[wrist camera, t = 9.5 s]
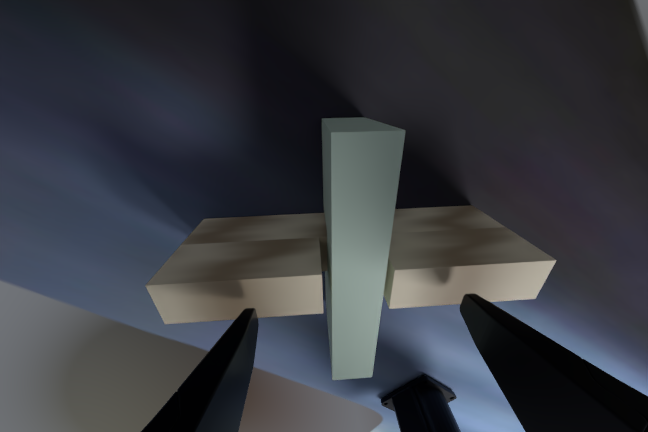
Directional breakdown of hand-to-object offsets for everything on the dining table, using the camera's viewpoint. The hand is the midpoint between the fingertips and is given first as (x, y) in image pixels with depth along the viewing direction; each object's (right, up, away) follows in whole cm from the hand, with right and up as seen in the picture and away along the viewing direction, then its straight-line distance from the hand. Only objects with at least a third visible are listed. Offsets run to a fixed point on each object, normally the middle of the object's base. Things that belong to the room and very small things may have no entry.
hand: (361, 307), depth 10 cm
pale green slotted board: (0, +3, +6) cm, 7 cm away
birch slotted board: (0, +3, +6) cm, 7 cm away
